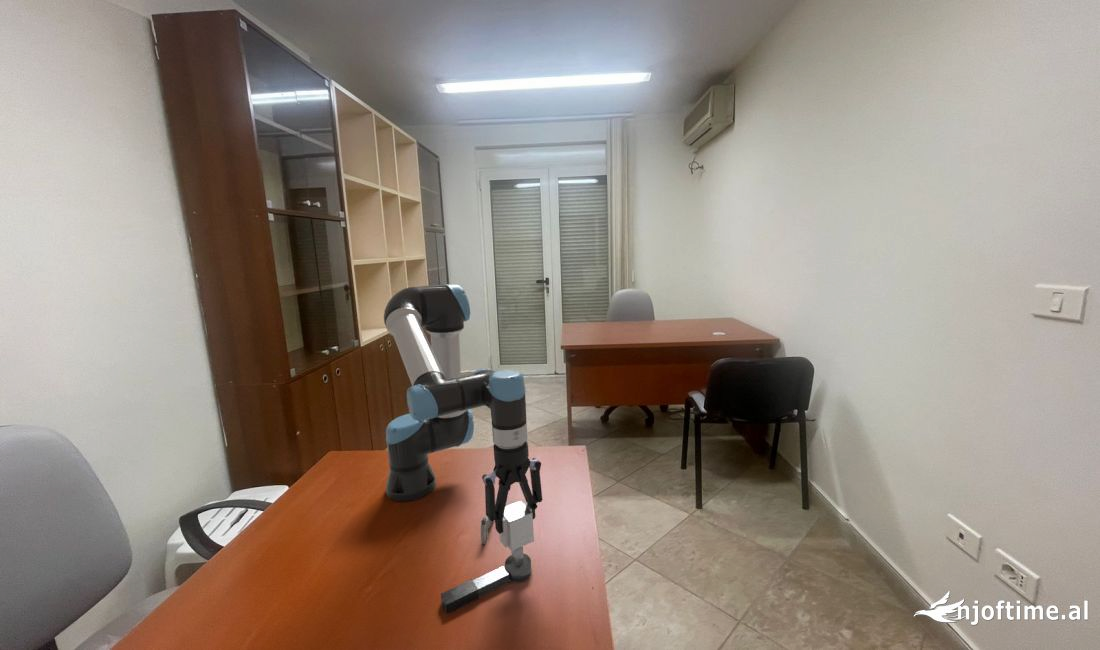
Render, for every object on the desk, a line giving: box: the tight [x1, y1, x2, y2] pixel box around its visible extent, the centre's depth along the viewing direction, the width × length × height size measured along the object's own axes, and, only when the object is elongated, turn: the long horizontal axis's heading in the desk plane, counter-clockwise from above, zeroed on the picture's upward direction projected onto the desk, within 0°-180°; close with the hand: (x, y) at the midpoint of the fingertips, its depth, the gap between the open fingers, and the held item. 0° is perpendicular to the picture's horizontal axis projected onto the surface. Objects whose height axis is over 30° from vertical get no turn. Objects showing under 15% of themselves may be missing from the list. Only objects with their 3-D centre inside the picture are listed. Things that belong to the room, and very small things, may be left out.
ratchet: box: [440, 546, 532, 615], centre depth 90 cm, size 6×20×6 cm, turn 122°
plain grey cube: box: [504, 500, 535, 551], centre depth 92 cm, size 6×6×7 cm
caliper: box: [480, 500, 496, 545], centre depth 113 cm, size 20×1×6 cm, turn 175°
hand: (516, 537), depth 93 cm, fingers closed on plain grey cube, 6 cm apart
